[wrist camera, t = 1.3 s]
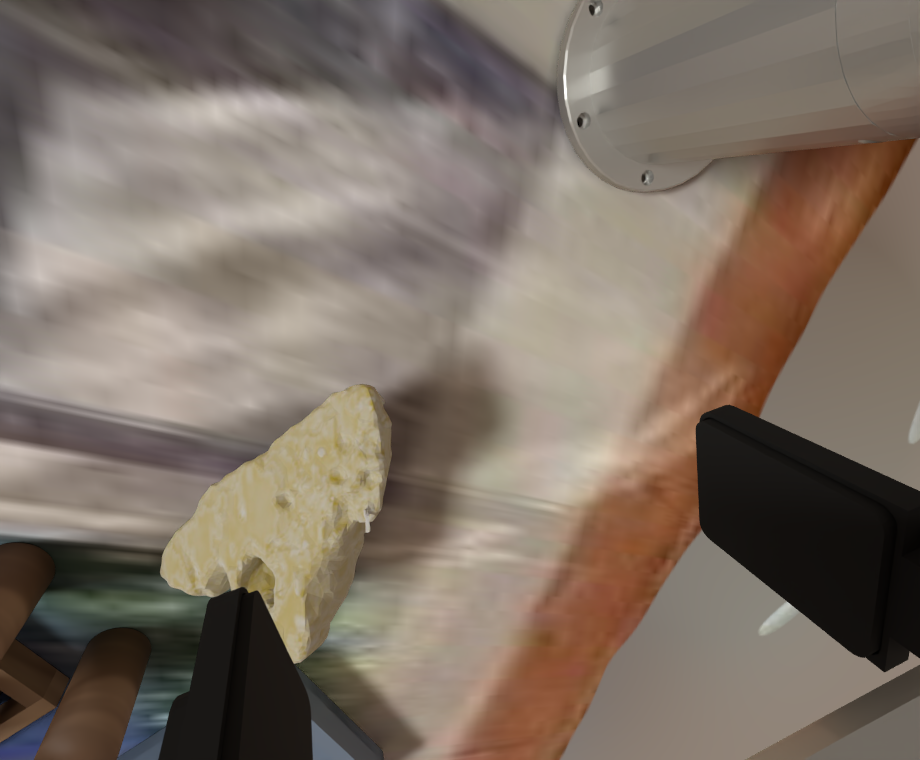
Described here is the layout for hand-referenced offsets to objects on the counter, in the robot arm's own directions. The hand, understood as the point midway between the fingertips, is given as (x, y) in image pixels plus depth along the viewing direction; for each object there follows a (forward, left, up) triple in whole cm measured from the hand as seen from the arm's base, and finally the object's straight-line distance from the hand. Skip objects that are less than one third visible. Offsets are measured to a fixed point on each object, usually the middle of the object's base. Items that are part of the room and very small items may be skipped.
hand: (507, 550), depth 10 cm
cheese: (+9, +5, -23) cm, 25 cm away
